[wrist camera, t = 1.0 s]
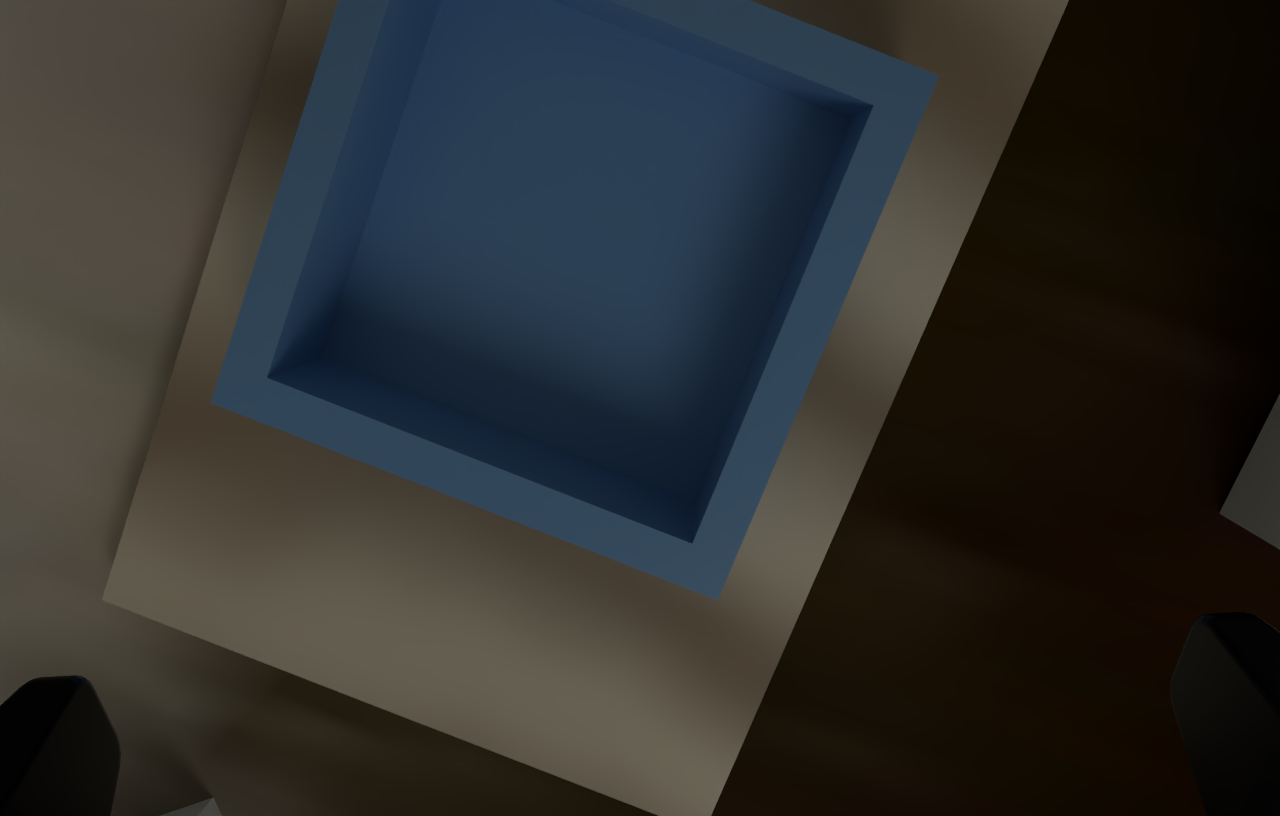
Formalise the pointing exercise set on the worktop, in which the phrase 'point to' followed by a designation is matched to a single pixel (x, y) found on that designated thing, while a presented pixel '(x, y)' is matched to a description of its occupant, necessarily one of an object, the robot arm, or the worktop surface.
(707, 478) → the box
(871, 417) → the board
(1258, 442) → the connector column
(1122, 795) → the worktop surface
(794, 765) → the worktop surface
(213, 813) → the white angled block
